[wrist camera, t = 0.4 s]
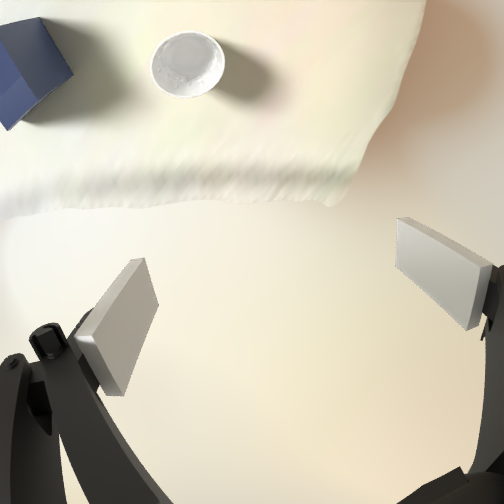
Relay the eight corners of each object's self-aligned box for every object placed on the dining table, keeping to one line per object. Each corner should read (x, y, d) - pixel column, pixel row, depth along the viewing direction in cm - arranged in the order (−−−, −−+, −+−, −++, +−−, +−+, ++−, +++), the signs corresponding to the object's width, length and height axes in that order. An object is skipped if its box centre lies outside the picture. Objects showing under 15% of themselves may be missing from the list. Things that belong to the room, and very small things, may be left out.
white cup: (152, 37, 29) (141, 45, 23) (210, 20, 29) (216, 22, 22) (169, 85, 35) (163, 107, 29) (223, 70, 35) (232, 87, 28)
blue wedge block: (-13, 68, 22) (-58, 96, 14) (39, 17, 21) (-7, 27, 13) (20, 119, 31) (-17, 157, 23) (73, 74, 30) (38, 100, 22)
